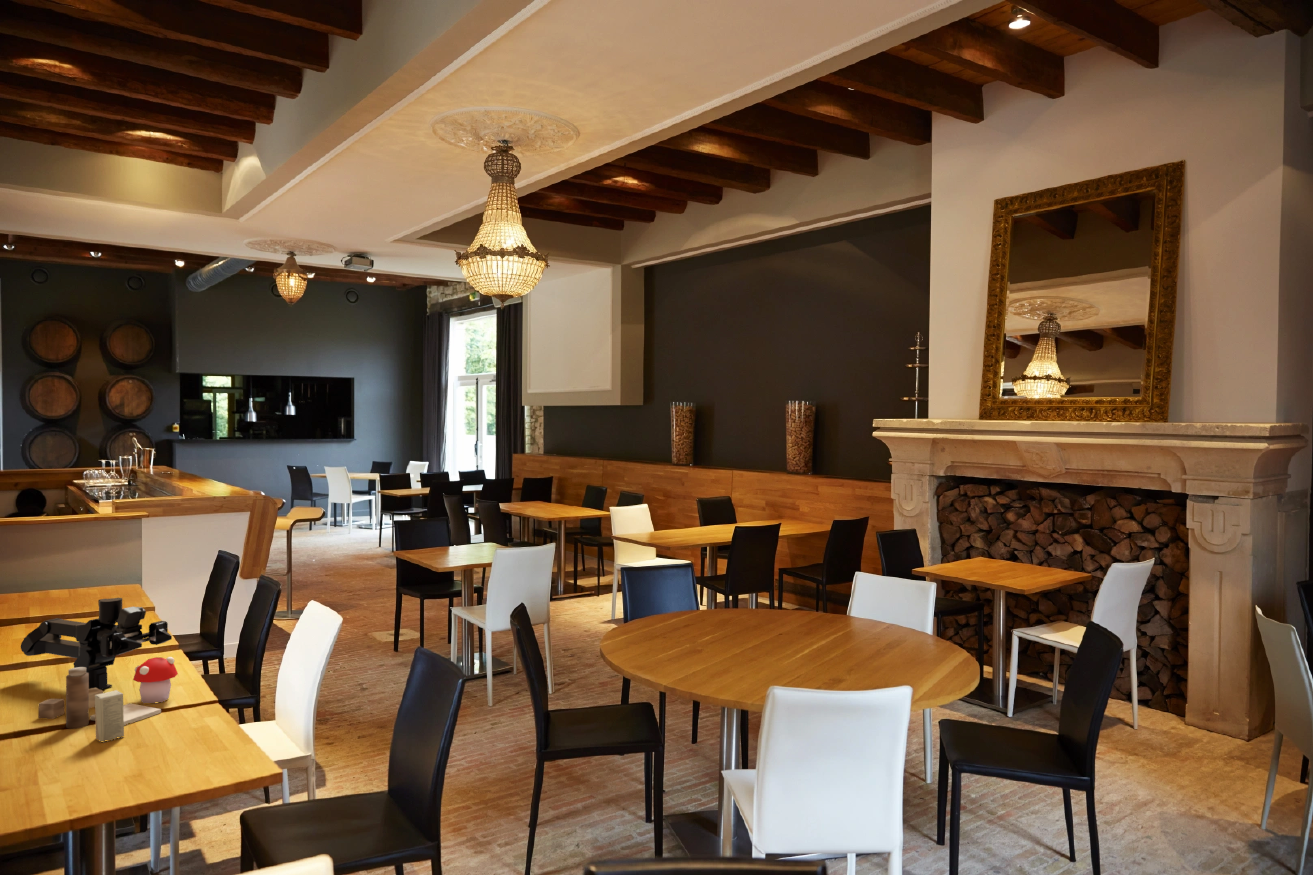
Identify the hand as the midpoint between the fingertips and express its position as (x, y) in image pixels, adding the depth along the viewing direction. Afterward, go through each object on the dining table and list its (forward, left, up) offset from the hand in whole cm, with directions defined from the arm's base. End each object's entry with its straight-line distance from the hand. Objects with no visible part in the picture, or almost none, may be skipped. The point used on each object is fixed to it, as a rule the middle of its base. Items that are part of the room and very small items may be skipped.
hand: (156, 641), depth 240 cm
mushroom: (0, 0, -17) cm, 17 cm away
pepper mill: (0, -22, -17) cm, 28 cm away
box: (+16, -25, -17) cm, 34 cm away
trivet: (+5, -12, -16) cm, 21 cm away
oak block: (-12, -10, -17) cm, 23 cm away
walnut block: (-13, -20, -17) cm, 29 cm away
